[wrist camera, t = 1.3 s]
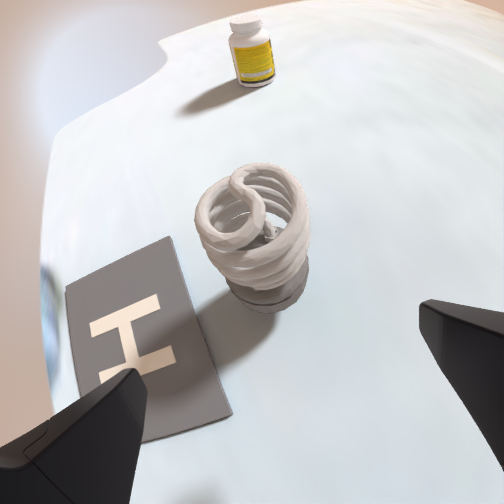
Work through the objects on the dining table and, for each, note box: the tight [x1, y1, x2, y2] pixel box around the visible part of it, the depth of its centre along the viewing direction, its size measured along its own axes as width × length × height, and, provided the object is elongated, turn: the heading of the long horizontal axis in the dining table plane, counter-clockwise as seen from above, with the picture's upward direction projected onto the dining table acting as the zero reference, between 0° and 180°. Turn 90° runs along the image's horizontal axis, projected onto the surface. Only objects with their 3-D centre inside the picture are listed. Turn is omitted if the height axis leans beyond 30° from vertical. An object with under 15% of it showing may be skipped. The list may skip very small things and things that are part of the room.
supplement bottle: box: [229, 15, 275, 87], centre depth 35 cm, size 5×5×10 cm
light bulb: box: [194, 163, 311, 313], centre depth 19 cm, size 6×6×12 cm
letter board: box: [65, 236, 233, 442], centre depth 23 cm, size 16×12×1 cm
